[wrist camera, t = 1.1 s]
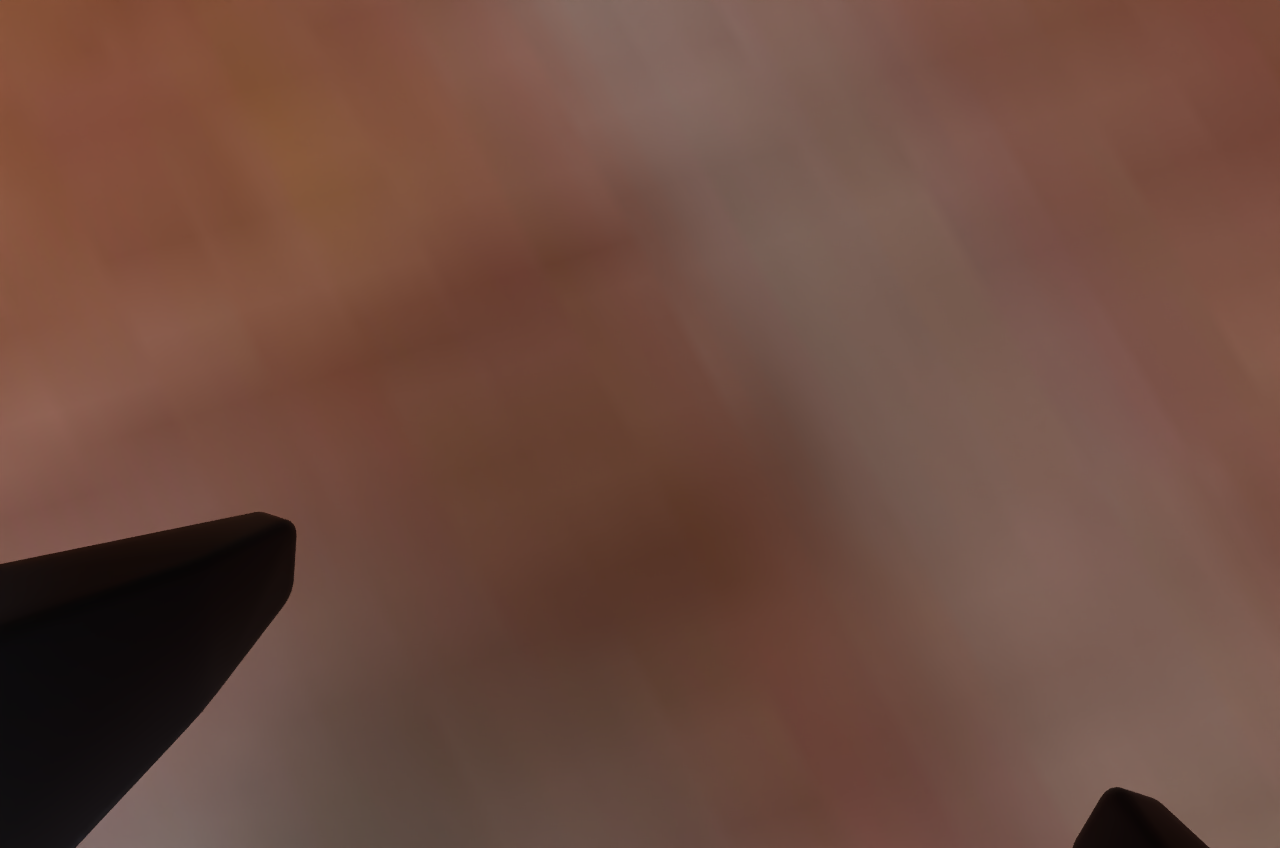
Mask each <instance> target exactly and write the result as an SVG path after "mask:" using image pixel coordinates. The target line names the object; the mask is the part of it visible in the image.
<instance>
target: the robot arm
mask: <svg viewBox="0 0 1280 848" xmlns="http://www.w3.org/2000/svg"><path fill="white" fill-rule="evenodd" d="M296 537H297V536H296V528H295V526H294V524H293V523H292V522H291V521H289V520H286V519H283V518H280V517H277V516H273V515H270V514H267V513H264V512H254V513H249V514H244V515H239V516H234V517H229V518H225V519H220V520H215V521H210V522H205V523H200V524H195V525H190V526H185V527H180V528H175V529H171V530H166V531H161V532H156V533H151V534H146V535H141V536H136V537H131V538H126V539H122V540H117V541H112V542H107V543H102V544H97V545H92V546H87V547H82V548H77V549H72V550H68V551H63V552H58V553H53V554H48V555H43V556H38V557H33V558H28V559H23V560H18V561H14V562H9V563H4V564H0V848H76V846H77V845H78V844H79V843H80V842H81V841H82V840H83V839H84V838H85V837H86V836H87V835H88V834H89V833H90V832H91V830H92V829H93V828H94V827H95V826H96V825H97V824H98V823H99V822H100V821H101V820H102V819H103V818H104V817H105V815H106V814H107V813H108V812H109V811H110V810H111V809H112V808H113V807H114V806H115V805H116V804H117V803H118V802H119V801H120V799H121V798H122V797H123V796H124V795H125V794H126V793H127V792H128V791H129V790H130V789H131V788H132V787H133V786H134V784H135V783H136V782H137V781H138V780H139V779H140V778H141V777H142V776H143V775H144V774H145V773H146V772H147V771H148V770H149V768H150V767H151V766H152V765H153V764H154V763H155V762H156V761H157V760H158V759H159V758H160V757H161V756H162V755H163V753H164V752H165V751H166V750H167V749H168V748H169V747H170V746H171V745H172V744H173V743H174V742H175V741H176V740H177V739H178V737H179V736H180V735H181V734H182V733H183V732H184V731H185V730H186V729H187V728H188V727H189V726H190V724H191V723H192V722H193V721H194V720H195V719H196V718H197V717H198V715H199V714H200V713H201V712H202V711H203V710H204V709H205V707H206V706H207V705H208V704H209V702H210V701H211V700H212V699H213V697H214V696H215V695H216V694H217V692H218V691H219V690H220V689H221V687H222V686H223V685H224V683H225V682H226V681H227V679H228V678H229V677H230V675H231V674H232V673H233V671H234V670H235V669H236V668H237V666H238V665H239V664H240V662H241V661H242V660H243V658H244V657H245V656H246V654H247V653H248V652H249V650H250V649H251V648H252V647H253V645H254V644H255V643H256V641H257V640H258V639H259V637H260V636H261V635H262V633H263V632H264V631H265V630H266V628H267V627H268V626H269V624H270V623H271V622H272V620H273V619H274V618H275V616H276V615H277V614H278V612H279V611H280V610H281V609H282V607H283V606H284V604H285V603H286V601H287V599H288V598H289V596H290V593H291V590H292V587H293V581H294V567H295V552H296ZM1073 848H1209V847H1208V846H1207V845H1206V844H1205V843H1204V842H1203V841H1201V840H1200V839H1199V838H1198V837H1197V836H1196V835H1195V834H1194V833H1193V832H1192V831H1191V830H1190V829H1189V828H1187V827H1186V826H1185V825H1184V824H1183V823H1182V822H1181V821H1180V820H1179V819H1178V818H1177V817H1176V816H1175V815H1173V814H1172V813H1171V812H1170V811H1169V810H1168V809H1167V808H1166V807H1165V806H1164V805H1163V804H1161V803H1160V802H1159V801H1157V800H1155V799H1153V798H1151V797H1148V796H1145V795H1142V794H1139V793H1135V792H1132V791H1129V790H1126V789H1123V788H1120V787H1115V788H1110V789H1108V790H1107V791H1106V792H1105V793H1104V794H1103V795H1102V797H1101V798H1100V800H1099V801H1098V803H1097V805H1096V806H1095V808H1094V810H1093V812H1092V813H1091V815H1090V817H1089V818H1088V820H1087V822H1086V823H1085V825H1084V827H1083V828H1082V830H1081V832H1080V833H1079V835H1078V837H1077V838H1076V840H1075V843H1074V845H1073Z"/></svg>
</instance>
